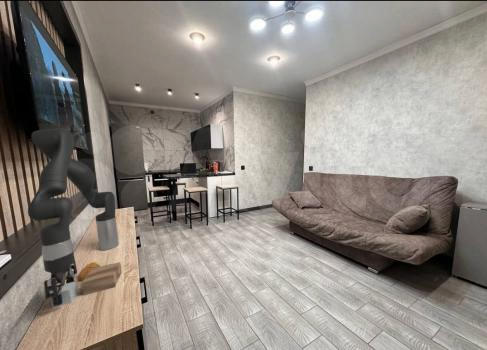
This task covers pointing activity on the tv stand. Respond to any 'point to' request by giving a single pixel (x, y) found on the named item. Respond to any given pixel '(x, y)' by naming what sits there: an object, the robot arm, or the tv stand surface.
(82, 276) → the pastry
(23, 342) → the tv stand surface
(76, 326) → the tv stand surface
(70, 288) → the grey cube
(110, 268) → the tan square block
